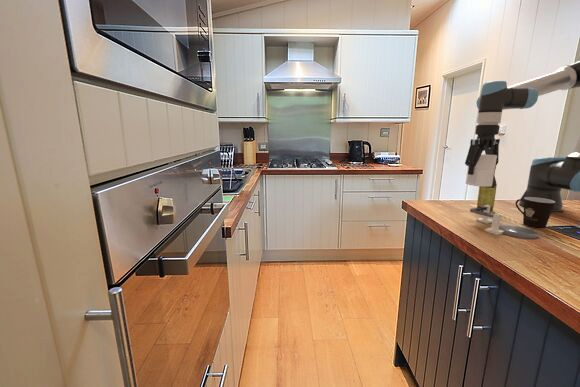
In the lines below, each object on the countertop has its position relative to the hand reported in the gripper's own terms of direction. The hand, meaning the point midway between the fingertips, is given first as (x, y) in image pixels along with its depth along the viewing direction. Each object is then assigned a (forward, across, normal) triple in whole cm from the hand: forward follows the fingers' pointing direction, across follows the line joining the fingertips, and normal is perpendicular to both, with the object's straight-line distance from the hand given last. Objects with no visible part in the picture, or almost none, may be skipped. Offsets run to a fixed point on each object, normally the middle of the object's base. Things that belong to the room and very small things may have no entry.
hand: (478, 181), depth 113 cm
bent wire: (+9, +7, +11) cm, 16 cm away
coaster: (+14, +4, +18) cm, 24 cm away
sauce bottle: (+15, -14, -5) cm, 21 cm away
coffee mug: (+15, -11, +15) cm, 24 cm away
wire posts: (+14, +6, +10) cm, 19 cm away
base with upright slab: (+1, 0, 0) cm, 1 cm away
